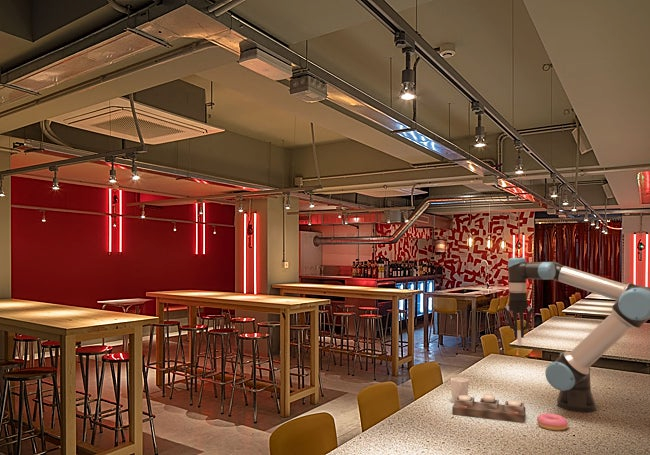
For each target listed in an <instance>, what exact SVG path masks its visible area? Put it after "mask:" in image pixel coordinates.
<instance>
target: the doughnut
mask: <svg viewBox="0 0 650 455" xmlns="http://www.w3.org/2000/svg"><path fill="white" fill-rule="evenodd" d="M536 420H537V424H538V426H540V427H541V428H543V429H546V430H549V431H564V430H567V428H568V426H569V421H568V420H567V419H566V418H565V417H564V416H562V415H560V414H556V413H540V414H538V416H537V417H536Z"/></svg>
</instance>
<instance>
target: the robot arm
mask: <svg viewBox="0 0 650 455" xmlns="http://www.w3.org/2000/svg"><path fill="white" fill-rule="evenodd" d="M507 262H508V263H507V272H508V292H509V293H508V303H507V305H505V306H504V307H503V308H502V309H503V311H504V312H505V314H506V319H507V322H508V325H509V328H510V329H511V330H513V331H514V337H515V338H516V339H517V346H520V347H521V346H522V339H523V338H525V332H524V331H525V330H528V329H529V324H530V321H531V315H532V313H533V311H534V308H533V307H531V306H530V305H529V303H528V294H527V290H528V288H527V280H544V281H547V280H553V281H555V282H558V283H559V282H560V283H563V284H566V285H569V286H572V287H574V288H578V289H581V290H583V291H586V292H590V293H593V294H595V295H599V296H601V297H605V298H608V299H610V300H614V301H616V302H615V303H614V304H613V305H611V310H612V312H610V314H608V316H606V317H605V319H604V320H602V321H601V322H600V324H598V325H597V326H596V327H595V328H594V329H593V330H592V331H591V332H589V334H588V335H586V336H585V338H584V339H583V340H581V341H580V342H579V343H578V344H577V345H576V346H575V347H574V348H573V349H572V350H571V351H567V350H566V351H563V352H561V353H559V357H558V358H556V360H554V361H552V362H550V363H549V364H548V365H547V366H546V369H545V378H546V381H547V383H549V385H550V386H551V387H552V388H554V389H555V390H558V391H559V393H558V396H557V399H556V405H557V407H558V408H560V409H563V410H565V411H569V412H574V413H575V412H578V413H593V412H595V411H596V410H597V403H596V401H595V398H594V395H593V394H592V389H591V388H592V387H591V386H592V385H591V366H592V365H593V364H594V363H596V361H597V360H599V359H600V358H602V356H603V355H604V354H605V353H606V352H608V350H610V349H611V348H612V347H613V346H614V345H615V344H616V343H618V342H619V340H621V339H622V338H623V337H624V336H625V335H627V333H629V331H631V330H632V329H640V327H642V326H643V325H644V324H646V322H647V321H648V320H650V287H648V286H643V285H639V284H634V283H631V282H629V283H626V284H625V283H622V282H619V281H616V280H614V279H613V280H612V279H608V278H607V277H602V276H599V275H596V274H593V273H589V272H586V271H582V270H580V269H576V268H573V267H571V266H566V265H563V264H560V263H558V262H556V261H532V262H531V261H530V262H529V261H527V260H526V258H525V257H511V258H509V259H508V261H507ZM510 310H511V312H513V321H512V318H511V314H510ZM526 310H527V312H528V313H527V316H526V320H525V326H524V313H525V312H526ZM518 313H519V321H520V329H518ZM513 324H514V325H513Z"/></svg>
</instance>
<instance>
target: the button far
mask: <svg viewBox="0 0 650 455" xmlns="http://www.w3.org/2000/svg"><path fill="white" fill-rule="evenodd" d="M471 397H472V396H470V395H468V396H467V395H460V396H459V400H463V401H471Z"/></svg>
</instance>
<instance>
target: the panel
mask: <svg viewBox="0 0 650 455" xmlns="http://www.w3.org/2000/svg"><path fill="white" fill-rule="evenodd" d="M470 397H471V401H463V400H459V396H457V397H456V399H455V403H454V402H453V403H454V404H453V406H452V408H451V409H452V412H451V414H452V415H453V416H454V415H456V416H462V417H469V418H470V417H471V418H479V419H487V420H495V421H504V422H511V423H520V424H525V423H526V412H527V411H526V406H525V402H524V401H523V402H521V401H520V402H521V407H519V406H510V405H508V401H509V400H505V402H504V404H500V401H499V399H495V402H485V401H483V397H482V398H481V397H480V400H479V401H475V397H474V396H473V397H472V396H470Z"/></svg>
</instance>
